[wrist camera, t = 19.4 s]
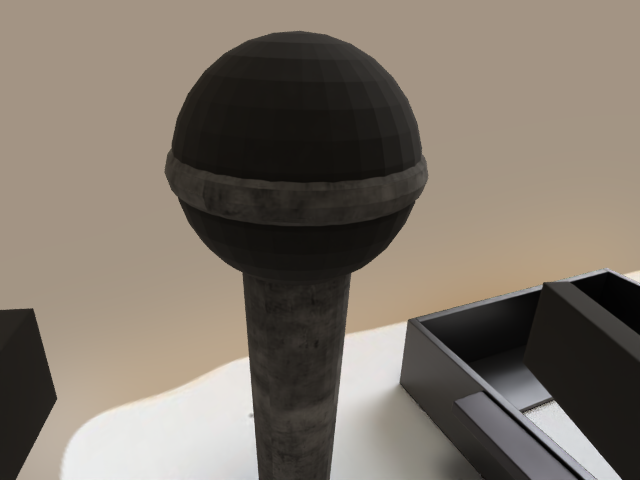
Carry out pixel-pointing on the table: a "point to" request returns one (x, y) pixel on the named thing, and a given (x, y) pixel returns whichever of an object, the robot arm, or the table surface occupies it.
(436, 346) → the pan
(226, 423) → the table surface
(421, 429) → the table surface
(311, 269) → the microphone
